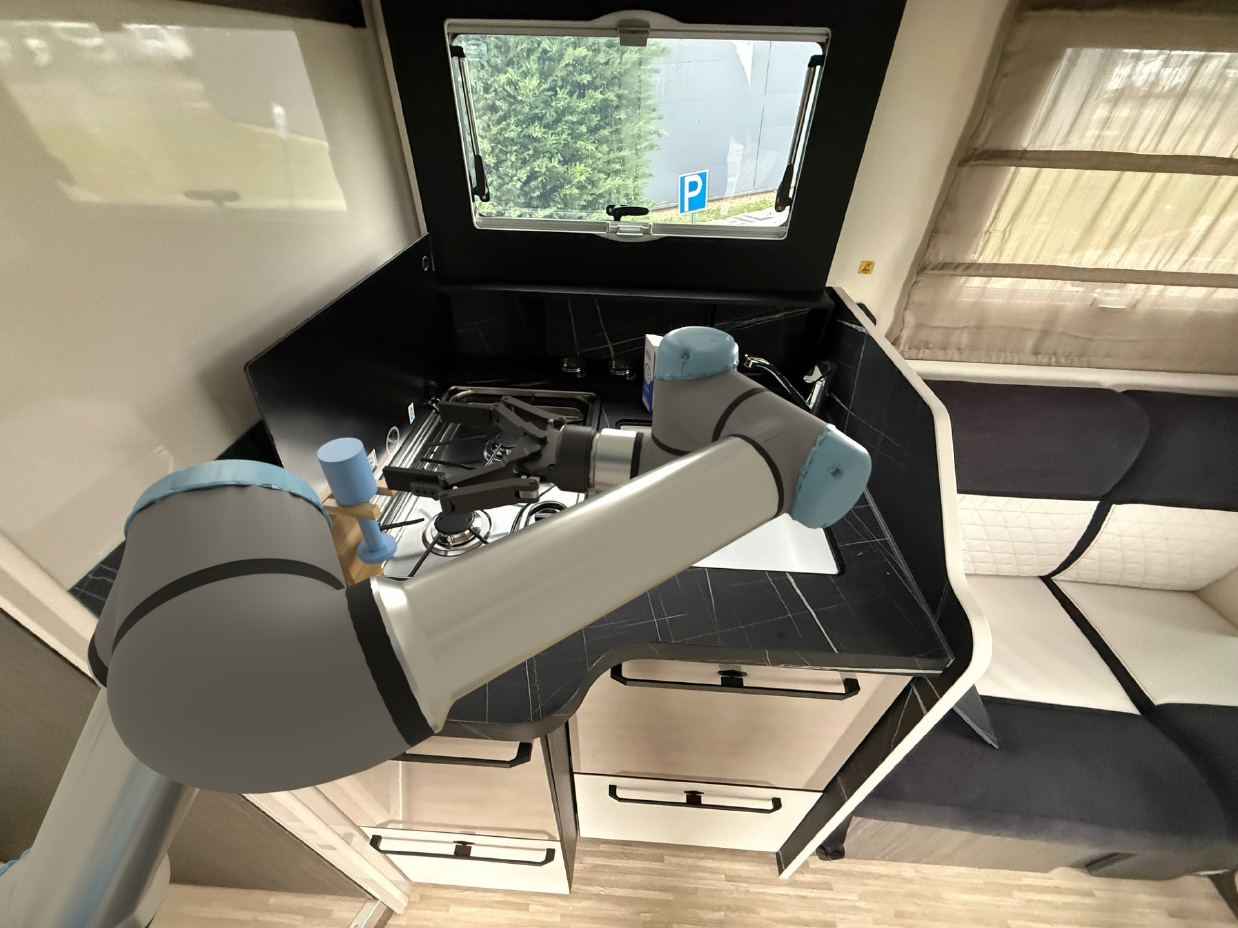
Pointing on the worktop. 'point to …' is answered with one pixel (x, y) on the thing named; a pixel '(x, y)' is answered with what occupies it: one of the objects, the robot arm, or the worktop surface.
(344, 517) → the stand
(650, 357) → the milk carton
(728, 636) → the worktop surface
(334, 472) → the peg
